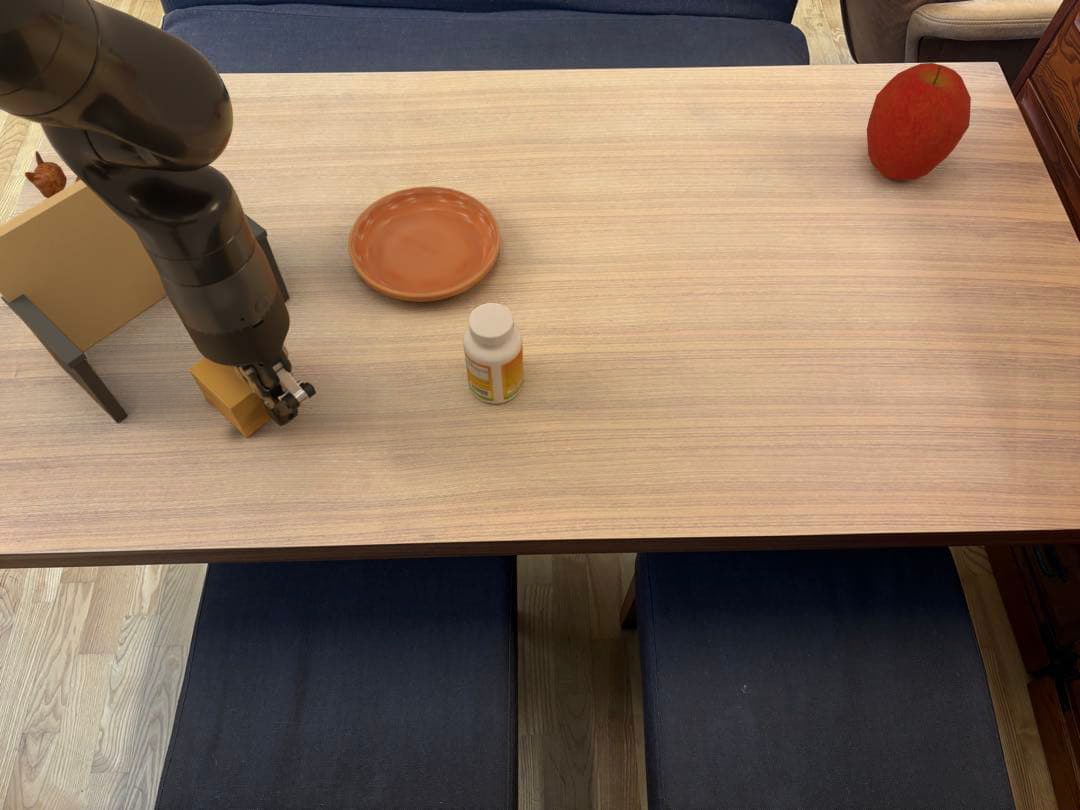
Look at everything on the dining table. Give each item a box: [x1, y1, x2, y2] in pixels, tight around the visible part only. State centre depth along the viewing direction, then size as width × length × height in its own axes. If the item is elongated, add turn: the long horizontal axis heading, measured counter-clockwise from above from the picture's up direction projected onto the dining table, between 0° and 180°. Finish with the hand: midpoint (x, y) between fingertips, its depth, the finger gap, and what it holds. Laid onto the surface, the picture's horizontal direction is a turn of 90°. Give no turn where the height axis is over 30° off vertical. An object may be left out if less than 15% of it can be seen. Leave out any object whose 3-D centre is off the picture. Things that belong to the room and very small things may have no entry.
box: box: [188, 357, 295, 438], centre depth 80 cm, size 6×6×5 cm
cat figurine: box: [24, 150, 80, 199], centre depth 90 cm, size 18×7×14 cm, turn 179°
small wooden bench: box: [0, 180, 291, 424], centre depth 80 cm, size 11×21×16 cm, turn 138°
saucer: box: [347, 185, 501, 303], centre depth 91 cm, size 16×16×3 cm
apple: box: [866, 62, 972, 182], centre depth 93 cm, size 10×10×14 cm
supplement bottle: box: [462, 302, 525, 405], centre depth 79 cm, size 5×5×10 cm
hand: (285, 416), depth 78 cm, fingers closed
